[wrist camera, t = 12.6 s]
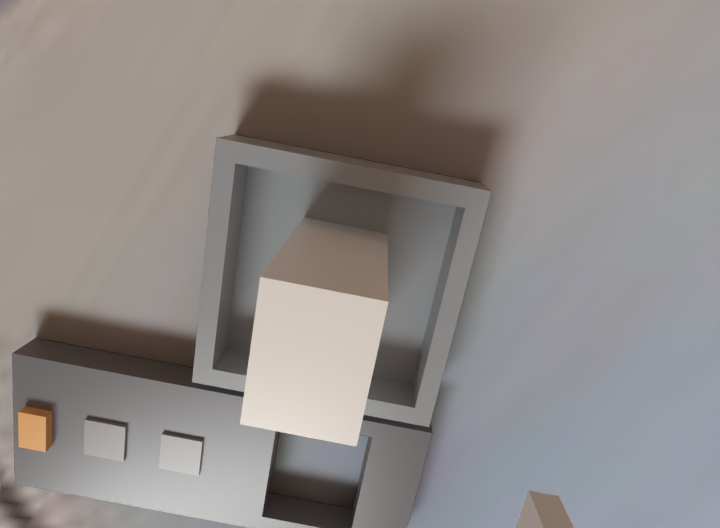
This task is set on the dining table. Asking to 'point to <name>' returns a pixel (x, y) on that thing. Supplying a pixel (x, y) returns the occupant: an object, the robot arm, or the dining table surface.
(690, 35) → the dining table surface
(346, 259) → the block
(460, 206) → the tray
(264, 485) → the power strip
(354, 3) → the dining table surface
